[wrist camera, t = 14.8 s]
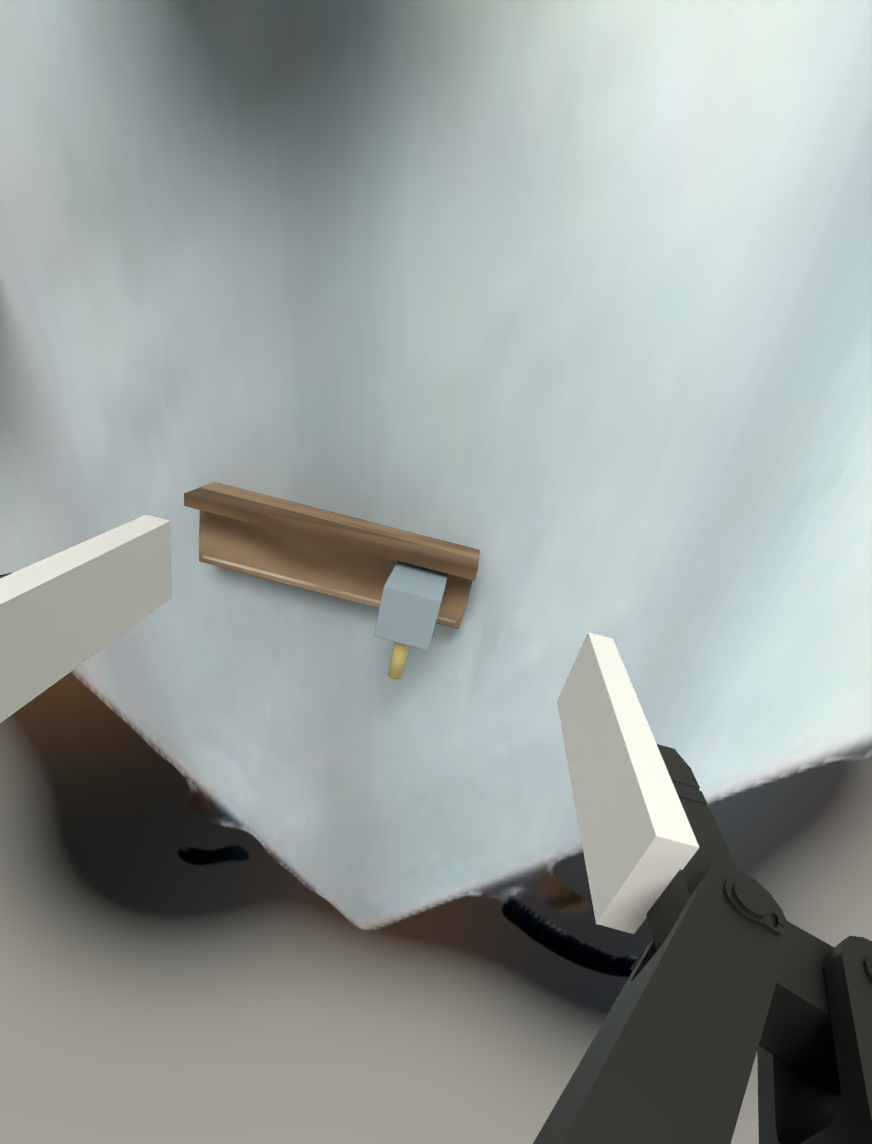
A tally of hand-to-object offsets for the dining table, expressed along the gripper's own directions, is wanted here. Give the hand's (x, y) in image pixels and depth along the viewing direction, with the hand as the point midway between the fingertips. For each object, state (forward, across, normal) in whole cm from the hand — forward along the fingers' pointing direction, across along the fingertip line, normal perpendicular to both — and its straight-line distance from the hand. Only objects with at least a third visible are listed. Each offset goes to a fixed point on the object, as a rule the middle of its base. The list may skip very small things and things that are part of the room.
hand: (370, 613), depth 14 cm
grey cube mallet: (+29, 0, -16) cm, 33 cm away
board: (+32, -9, -14) cm, 36 cm away
